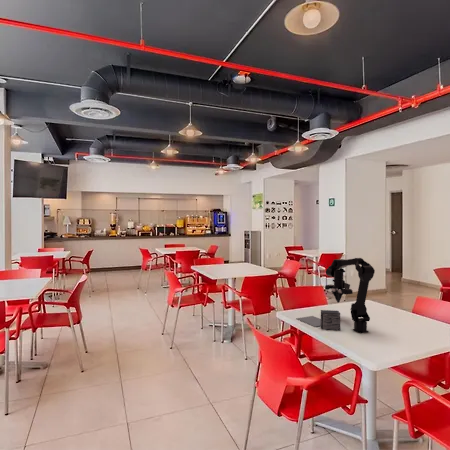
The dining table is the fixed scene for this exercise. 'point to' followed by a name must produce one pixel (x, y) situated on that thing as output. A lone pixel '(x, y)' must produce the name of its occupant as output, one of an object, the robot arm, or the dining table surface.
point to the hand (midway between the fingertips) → (338, 302)
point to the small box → (330, 320)
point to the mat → (311, 321)
